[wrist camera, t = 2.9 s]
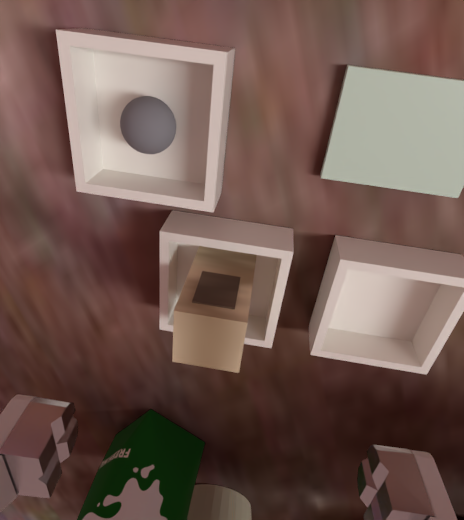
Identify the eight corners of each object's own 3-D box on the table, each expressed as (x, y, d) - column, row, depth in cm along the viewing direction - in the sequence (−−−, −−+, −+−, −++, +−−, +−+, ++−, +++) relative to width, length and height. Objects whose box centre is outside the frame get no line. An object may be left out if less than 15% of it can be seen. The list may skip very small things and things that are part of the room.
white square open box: (235, 47, 20) (227, 52, 17) (221, 192, 24) (213, 212, 22) (84, 27, 20) (55, 29, 18) (98, 173, 25) (76, 191, 22)
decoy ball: (182, 95, 21) (168, 106, 19) (181, 149, 23) (168, 165, 20) (130, 88, 21) (109, 97, 19) (132, 141, 23) (113, 157, 20)
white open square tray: (461, 254, 25) (480, 281, 22) (414, 343, 29) (426, 374, 27) (335, 235, 25) (340, 259, 23) (308, 326, 30) (310, 354, 27)
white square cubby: (293, 228, 25) (293, 251, 23) (273, 320, 30) (271, 348, 27) (172, 210, 26) (159, 231, 23) (170, 303, 30) (159, 329, 28)
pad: (504, 85, 19) (510, 86, 19) (454, 194, 23) (457, 198, 22) (347, 64, 20) (348, 65, 19) (320, 174, 23) (320, 178, 22)
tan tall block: (256, 252, 26) (247, 321, 20) (249, 299, 28) (238, 373, 22) (198, 243, 26) (172, 308, 20) (195, 290, 28) (170, 361, 23)
